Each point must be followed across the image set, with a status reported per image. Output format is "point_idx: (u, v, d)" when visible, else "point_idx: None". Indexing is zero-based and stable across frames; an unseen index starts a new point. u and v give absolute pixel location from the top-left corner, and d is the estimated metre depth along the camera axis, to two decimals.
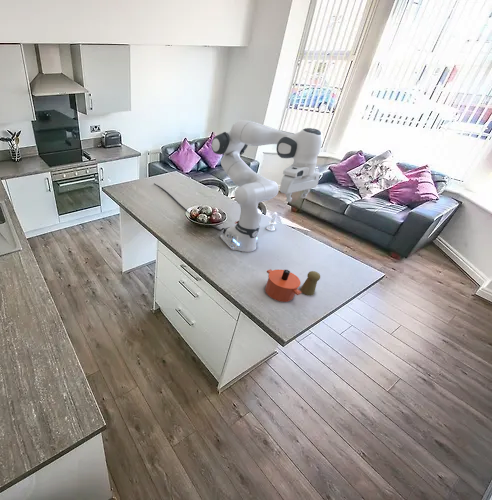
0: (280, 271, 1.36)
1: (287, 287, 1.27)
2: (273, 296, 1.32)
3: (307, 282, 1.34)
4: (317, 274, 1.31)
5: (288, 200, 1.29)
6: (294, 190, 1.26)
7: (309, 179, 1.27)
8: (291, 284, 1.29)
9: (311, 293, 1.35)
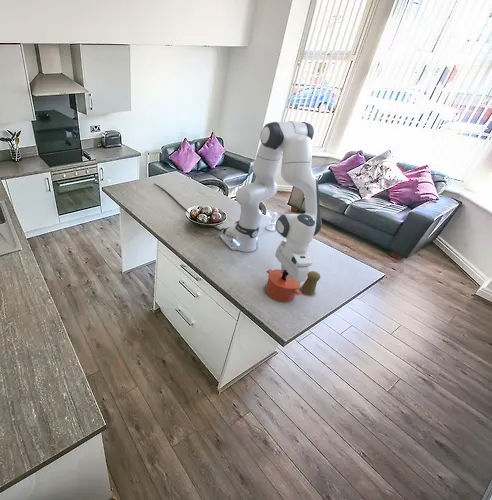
0: (280, 271, 1.36)
1: (287, 287, 1.27)
2: (273, 296, 1.32)
3: (307, 282, 1.34)
4: (317, 274, 1.31)
5: (289, 278, 1.29)
6: None
7: None
8: (291, 284, 1.29)
9: (311, 293, 1.35)
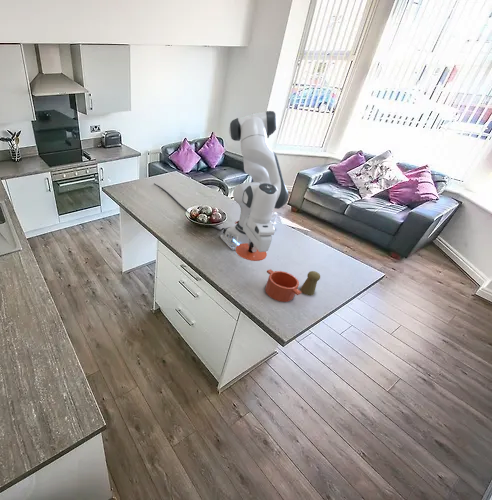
0: None
1: (252, 259, 1.27)
2: (273, 296, 1.32)
3: (307, 282, 1.34)
4: (317, 274, 1.31)
5: (255, 250, 1.29)
6: None
7: None
8: (257, 256, 1.28)
9: (311, 293, 1.35)
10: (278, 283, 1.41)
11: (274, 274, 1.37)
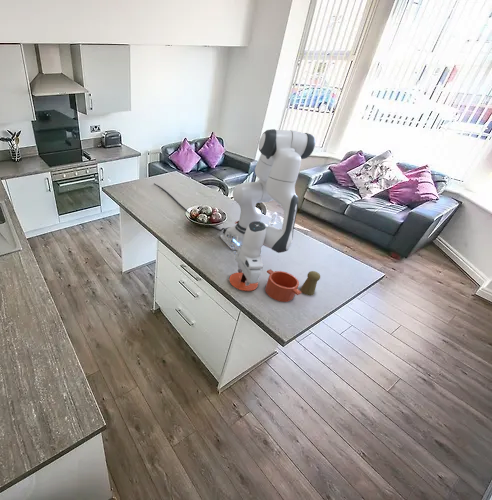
0: (241, 274, 1.46)
1: (245, 289, 1.37)
2: (273, 296, 1.32)
3: (307, 282, 1.34)
4: (317, 274, 1.31)
5: (248, 284, 1.36)
6: None
7: None
8: (249, 286, 1.38)
9: (311, 293, 1.35)
10: (278, 283, 1.41)
11: (274, 274, 1.37)
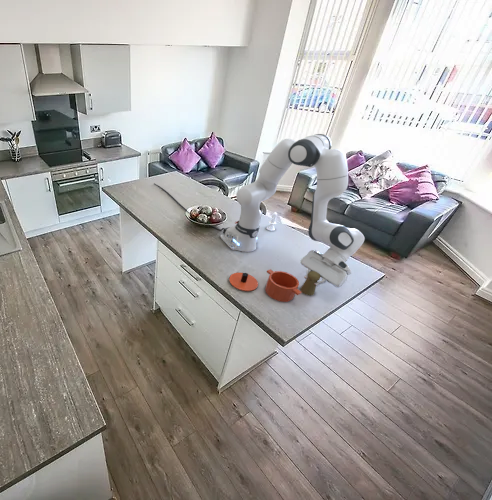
0: (241, 274, 1.46)
1: (245, 289, 1.37)
2: (273, 296, 1.32)
3: (307, 282, 1.34)
4: (317, 274, 1.31)
5: (318, 285, 1.32)
6: None
7: None
8: (249, 286, 1.38)
9: (311, 293, 1.35)
10: (278, 283, 1.41)
11: (274, 274, 1.37)
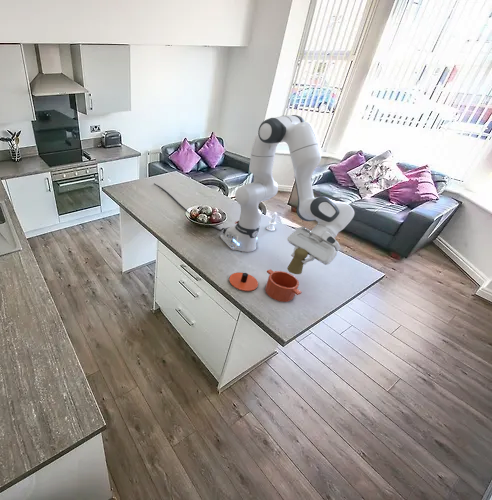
0: (241, 274, 1.46)
1: (245, 289, 1.37)
2: (273, 296, 1.32)
3: (294, 260, 1.26)
4: (304, 251, 1.23)
5: (305, 263, 1.24)
6: None
7: None
8: (249, 286, 1.38)
9: (298, 272, 1.27)
10: (278, 283, 1.41)
11: (274, 274, 1.37)
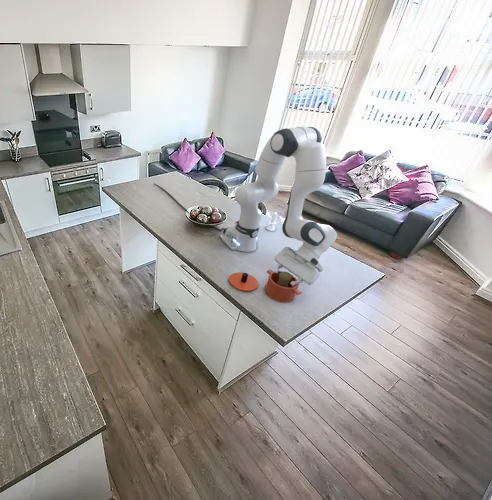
0: (241, 274, 1.46)
1: (245, 289, 1.37)
2: (273, 296, 1.32)
3: (279, 283, 1.33)
4: (288, 274, 1.30)
5: (294, 285, 1.28)
6: None
7: None
8: (249, 286, 1.38)
9: None
10: None
11: (274, 274, 1.37)
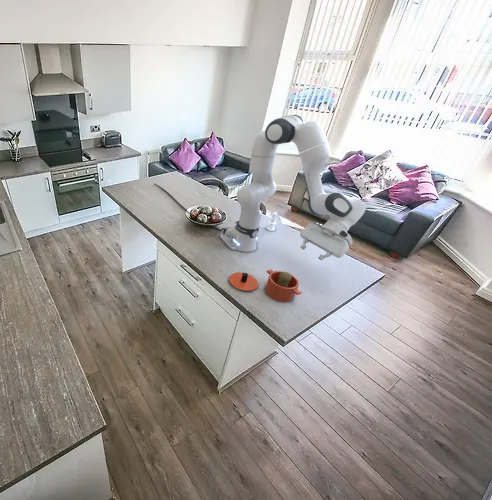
0: (241, 274, 1.46)
1: (245, 289, 1.37)
2: (273, 296, 1.32)
3: (279, 283, 1.33)
4: (288, 274, 1.30)
5: (322, 259, 1.27)
6: None
7: None
8: (249, 286, 1.38)
9: None
10: None
11: (274, 274, 1.37)
